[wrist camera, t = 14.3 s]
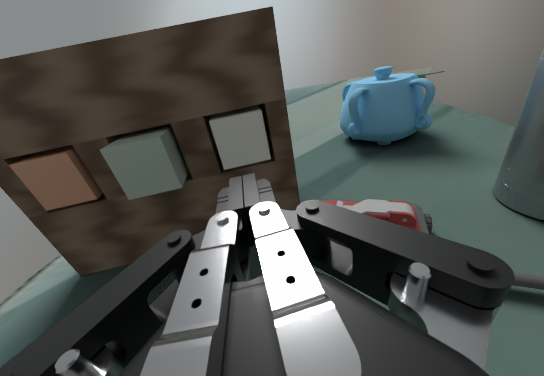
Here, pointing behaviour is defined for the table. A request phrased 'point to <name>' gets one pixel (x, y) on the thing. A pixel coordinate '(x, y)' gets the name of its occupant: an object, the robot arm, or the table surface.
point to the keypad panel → (144, 127)
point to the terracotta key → (57, 178)
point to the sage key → (147, 162)
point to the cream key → (240, 136)
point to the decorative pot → (386, 106)
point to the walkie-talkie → (413, 225)
